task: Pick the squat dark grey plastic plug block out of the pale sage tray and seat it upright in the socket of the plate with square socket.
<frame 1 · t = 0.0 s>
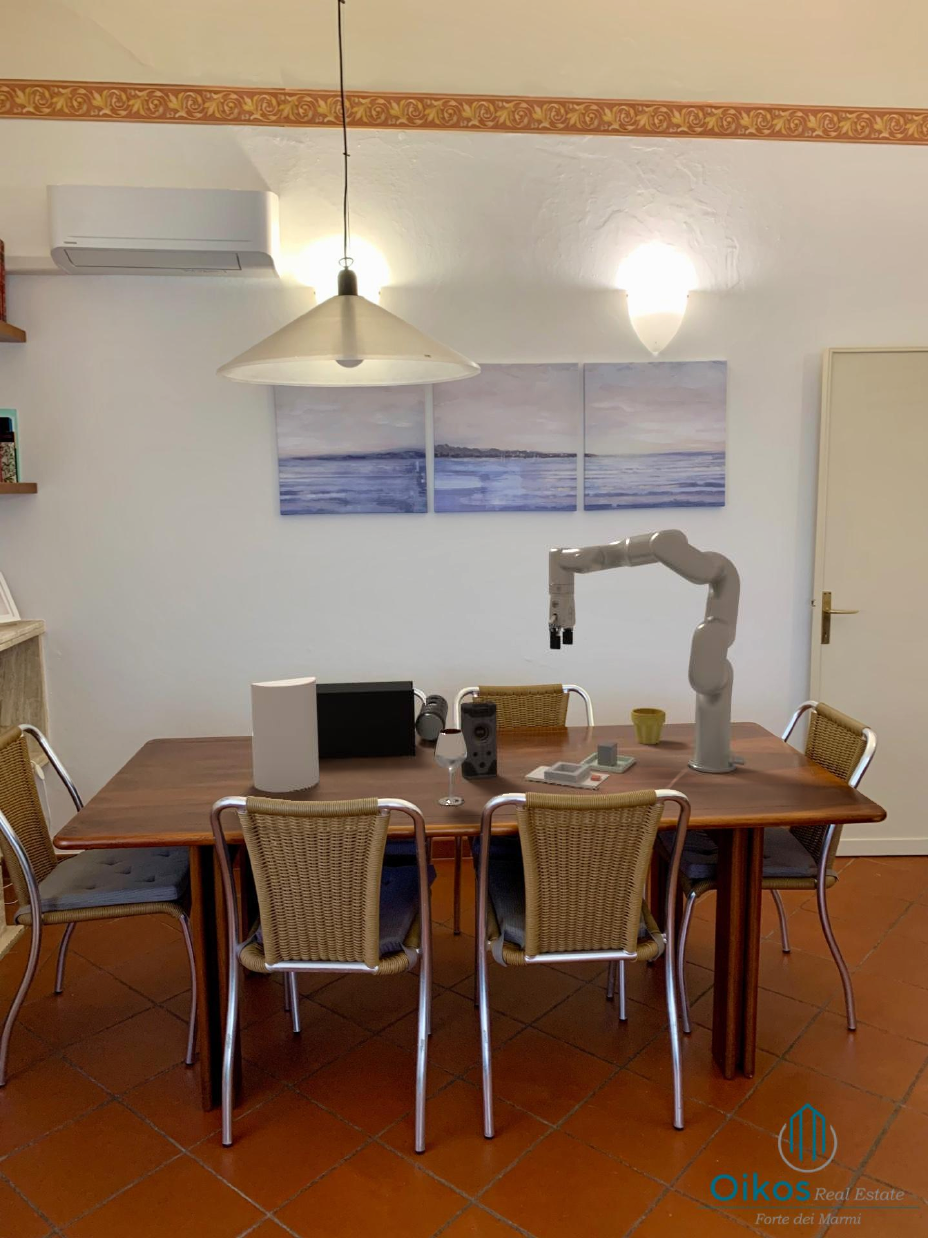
hand: (561, 646, 271), 31 cm above the table, tool pointing down, fingers open, 9 cm apart
plug: (607, 764, 255), point 1 cm above the table, touching tray
electronic device: (479, 776, 249), on the table
muzzle brake: (432, 734, 296), on the table
wineglass: (451, 802, 227), on the table
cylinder: (286, 783, 246), on the table
uninterruptible power supply: (358, 752, 275), on the table
plant pot: (647, 742, 282), on the table
plate with square socket: (567, 779, 245), on the table
tray: (607, 767, 255), on the table
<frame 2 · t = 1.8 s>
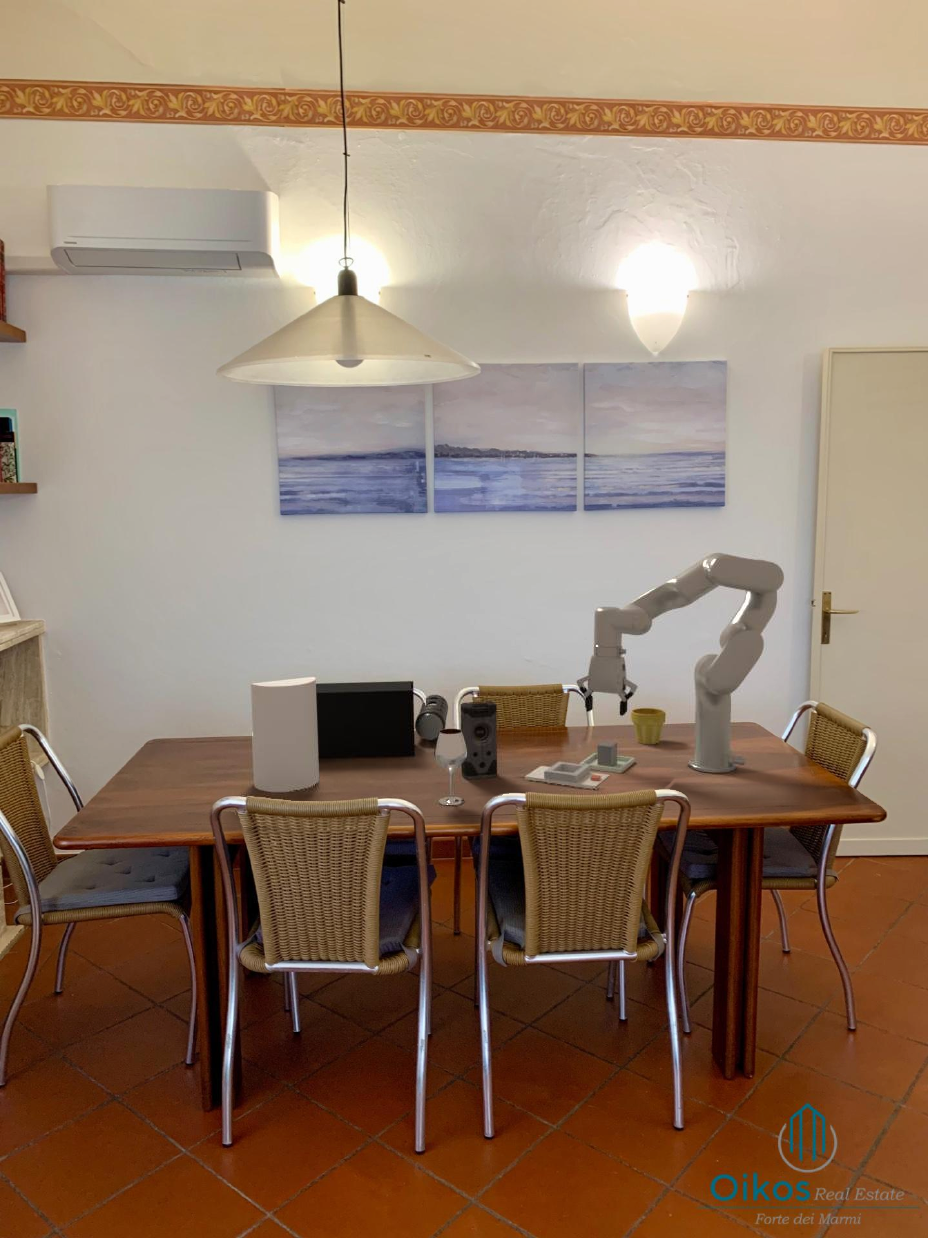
hand: (605, 712, 253), 16 cm above the table, tool pointing down, fingers open, 9 cm apart
nothing on the table moved.
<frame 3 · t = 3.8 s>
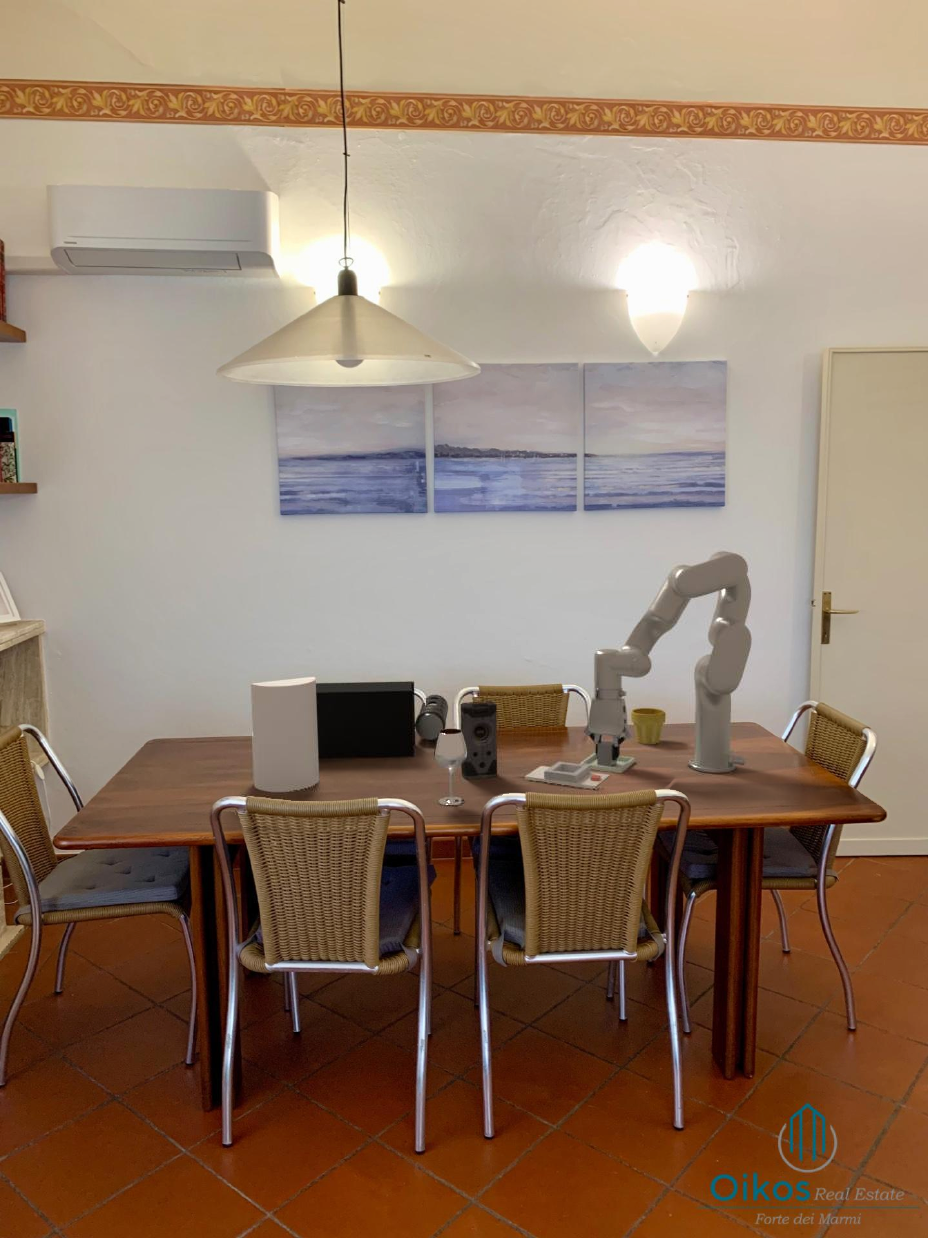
hand: (607, 757, 255), 3 cm above the table, tool pointing down, fingers closed on plug, 3 cm apart
plug: (607, 764, 254), point 1 cm above the table, touching gripper
everything else where it was.
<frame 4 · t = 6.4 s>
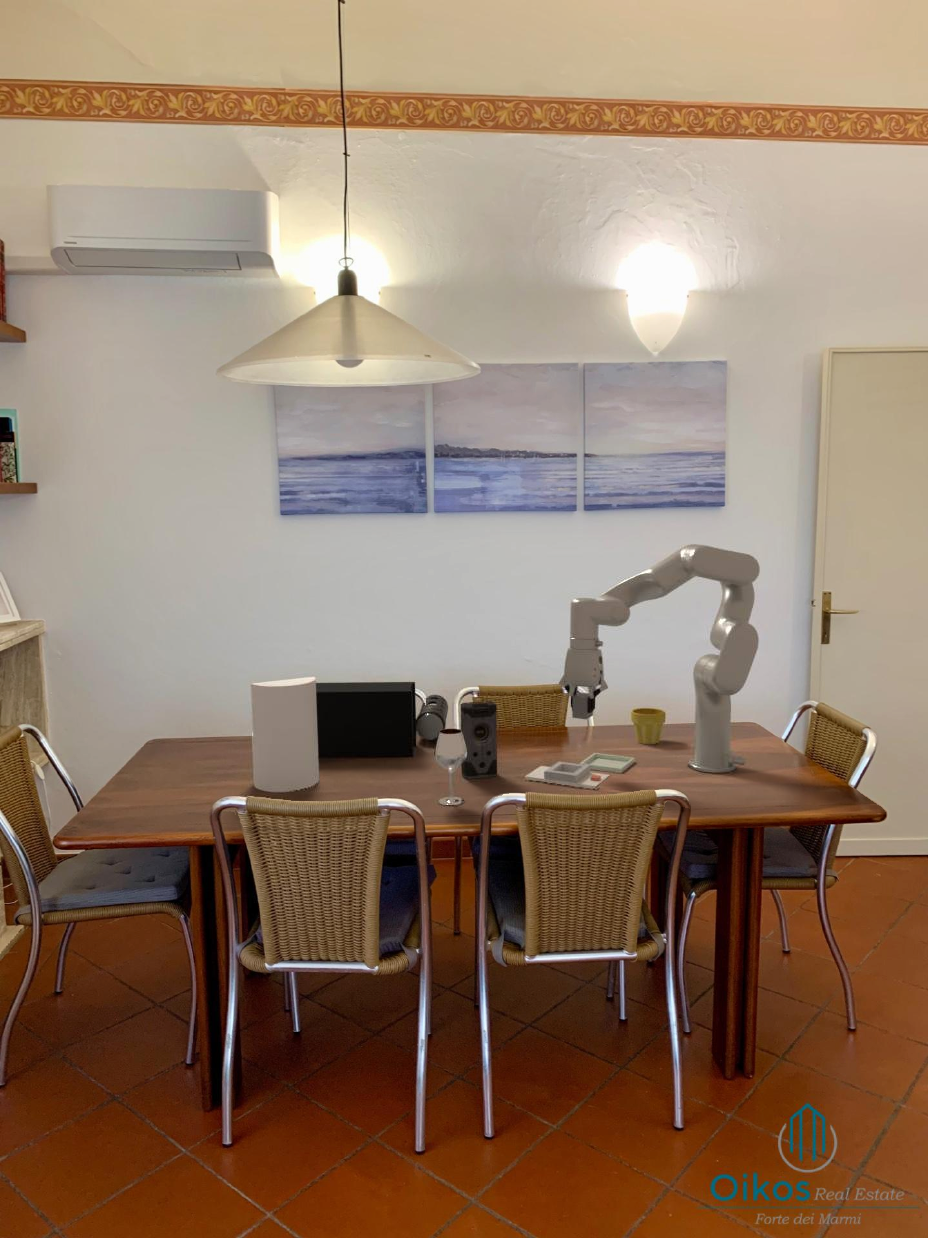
hand: (582, 710, 247), 18 cm above the table, tool pointing down, fingers closed on plug, 3 cm apart
plug: (582, 716, 247), point 16 cm above the table, touching gripper
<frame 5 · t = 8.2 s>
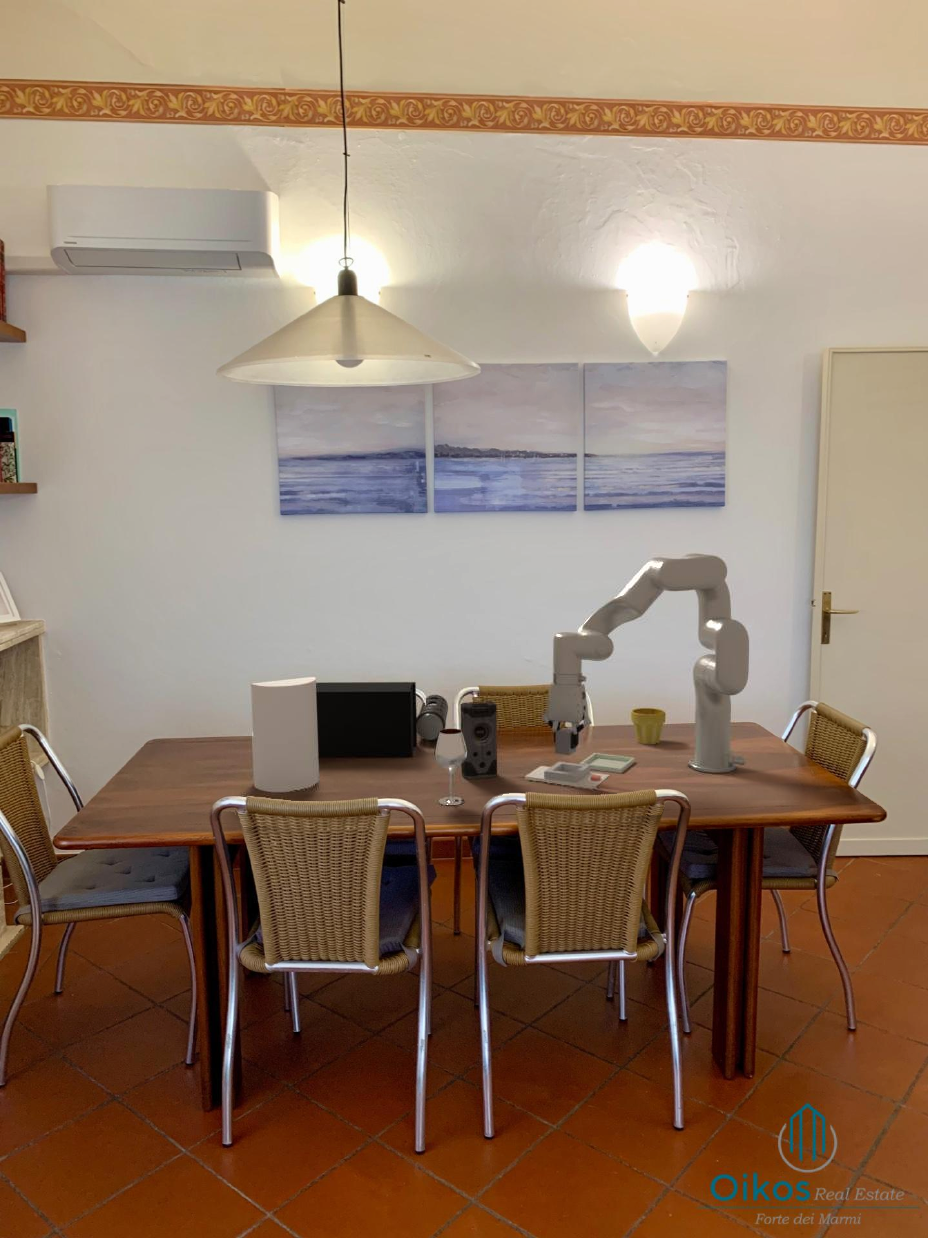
hand: (566, 746, 243), 9 cm above the table, tool pointing down, fingers closed on plug, 3 cm apart
plug: (565, 752, 243), point 7 cm above the table, touching gripper
when the fingers open (4 cm above the table, at t = 9.6 s): plug drops 1 cm, resting on plate with square socket.
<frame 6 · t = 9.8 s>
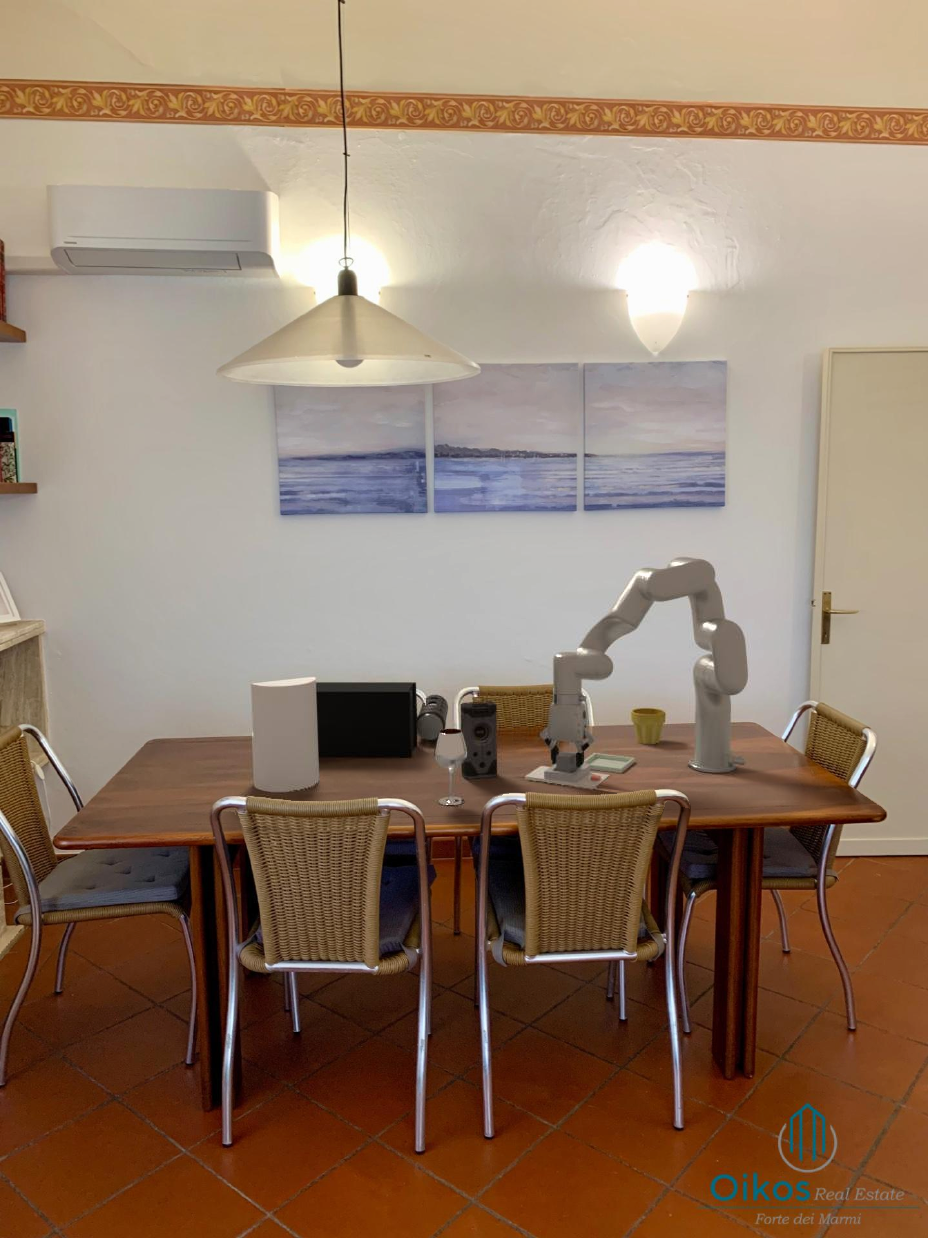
hand: (567, 764, 244), 4 cm above the table, tool pointing down, fingers open, 6 cm apart
plug: (566, 776, 244), point 1 cm above the table, touching plate with square socket
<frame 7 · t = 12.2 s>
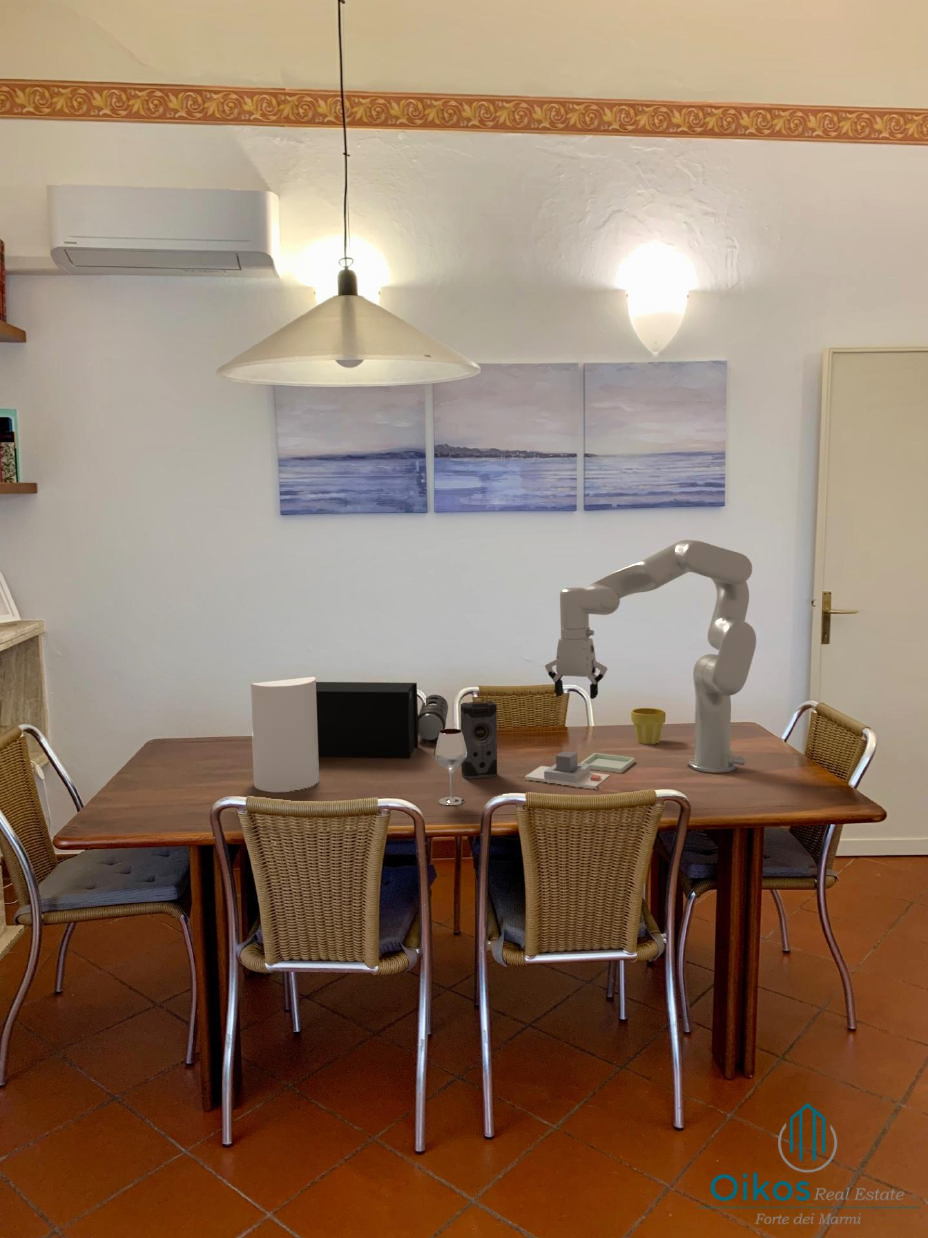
hand: (576, 696, 246), 22 cm above the table, tool pointing down, fingers open, 9 cm apart
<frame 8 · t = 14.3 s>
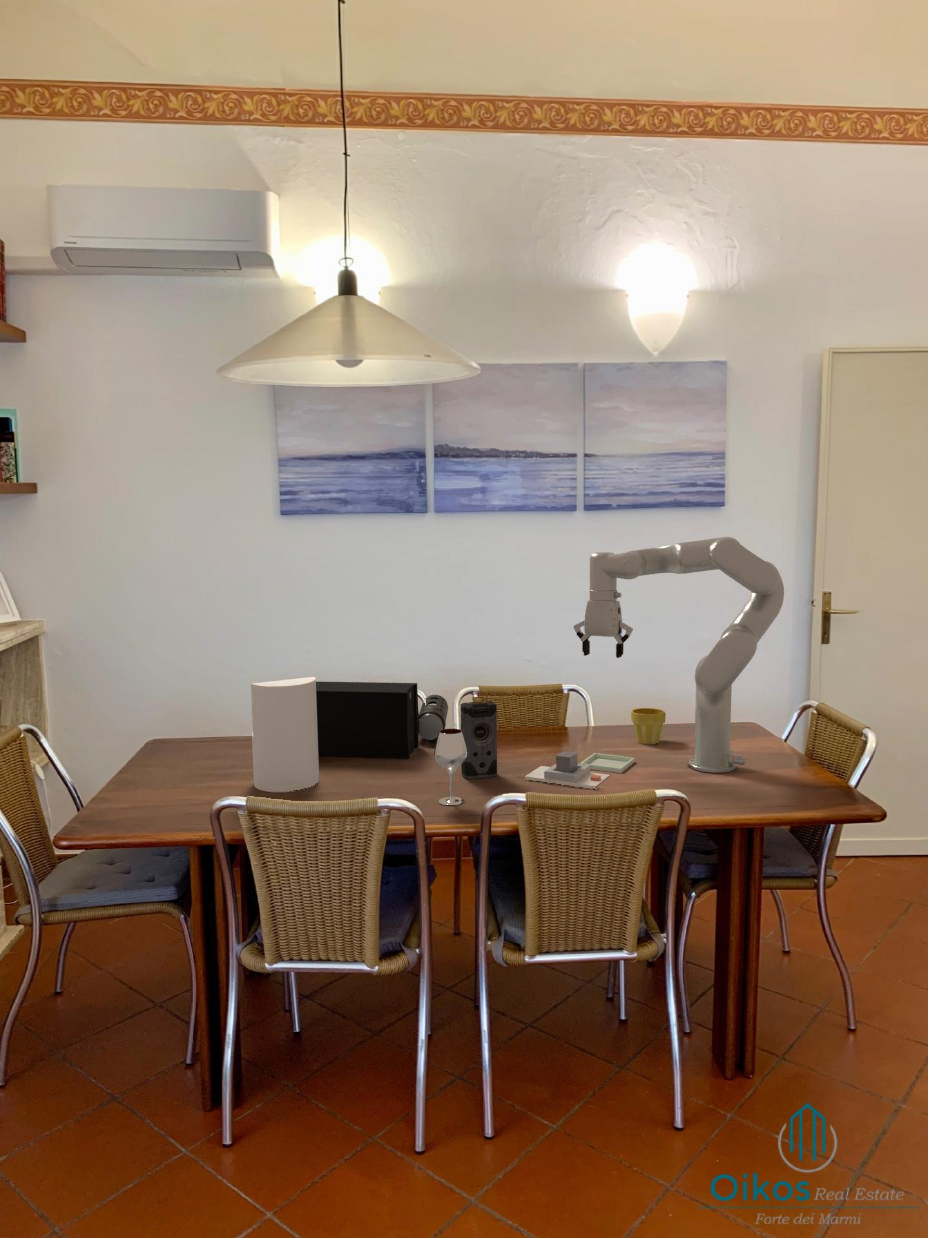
hand: (602, 656, 259), 30 cm above the table, tool pointing down, fingers open, 9 cm apart
at the end: plug 0.5 cm off-centre on the plate with square socket, point 1.0 cm above the plate with square socket's base; plug tilted 0°; the gripper is holding nothing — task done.
